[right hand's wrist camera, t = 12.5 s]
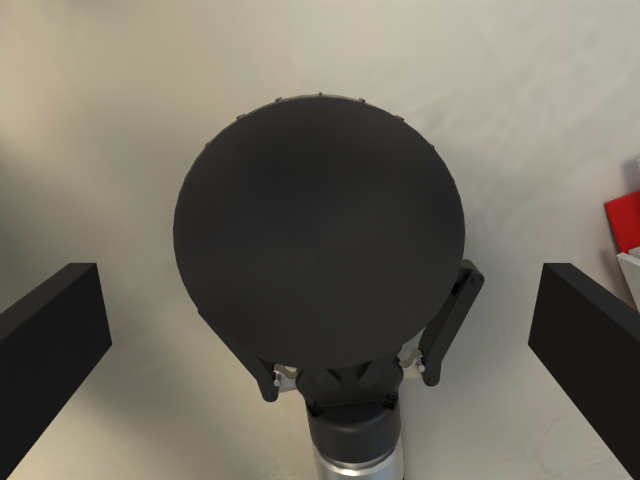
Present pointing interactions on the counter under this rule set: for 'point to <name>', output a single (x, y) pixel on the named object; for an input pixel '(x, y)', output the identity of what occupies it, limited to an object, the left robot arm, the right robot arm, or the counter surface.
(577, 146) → the counter surface
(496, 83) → the counter surface
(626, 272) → the toy
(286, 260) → the lid
